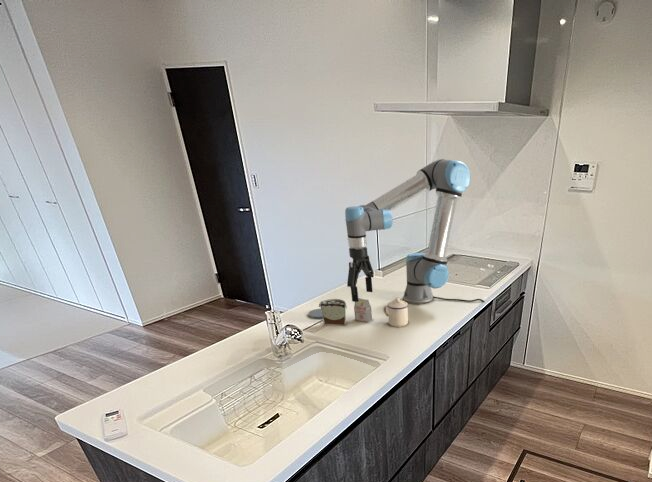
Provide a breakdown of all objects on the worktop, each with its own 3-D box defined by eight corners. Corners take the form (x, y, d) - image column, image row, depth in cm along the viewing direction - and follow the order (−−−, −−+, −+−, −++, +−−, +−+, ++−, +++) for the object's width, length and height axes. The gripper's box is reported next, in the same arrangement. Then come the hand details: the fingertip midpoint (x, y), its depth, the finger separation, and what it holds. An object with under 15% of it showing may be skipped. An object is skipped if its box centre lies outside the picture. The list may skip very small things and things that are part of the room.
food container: (351, 320, 196) (349, 299, 190) (348, 325, 190) (346, 303, 185) (325, 319, 196) (322, 297, 191) (321, 324, 191) (318, 302, 186)
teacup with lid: (412, 321, 195) (411, 297, 189) (401, 328, 188) (400, 302, 182) (389, 317, 200) (388, 292, 194) (378, 323, 193) (377, 298, 187)
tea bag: (359, 317, 199) (358, 296, 194) (372, 319, 196) (370, 298, 191) (355, 319, 196) (353, 298, 191) (367, 322, 194) (366, 301, 188)
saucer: (337, 312, 204) (336, 310, 204) (324, 320, 196) (324, 317, 195) (317, 309, 207) (316, 307, 207) (304, 316, 199) (303, 314, 198)
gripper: (363, 240, 190) (367, 287, 202) (334, 253, 170) (341, 304, 182) (378, 241, 188) (382, 288, 200) (351, 254, 168) (356, 306, 180)
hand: (362, 296), depth 191 cm, fingers open, 13 cm apart
